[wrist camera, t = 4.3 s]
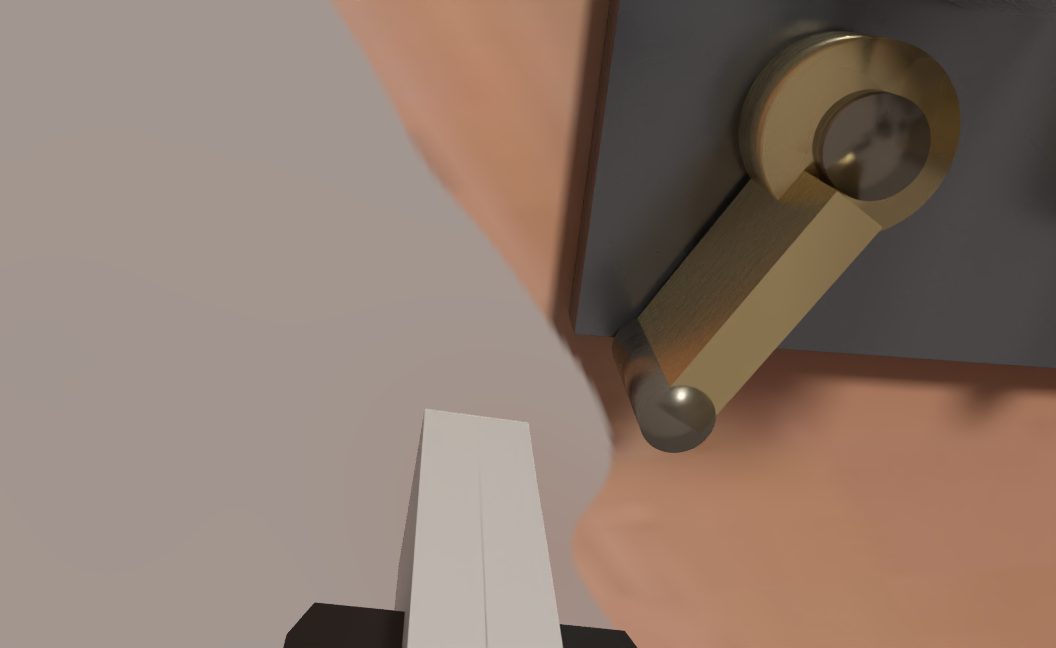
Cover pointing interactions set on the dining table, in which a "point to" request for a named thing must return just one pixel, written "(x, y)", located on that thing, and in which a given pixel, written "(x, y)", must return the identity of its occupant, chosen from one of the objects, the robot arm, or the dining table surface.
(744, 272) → the knob
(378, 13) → the dining table surface
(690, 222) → the plate
